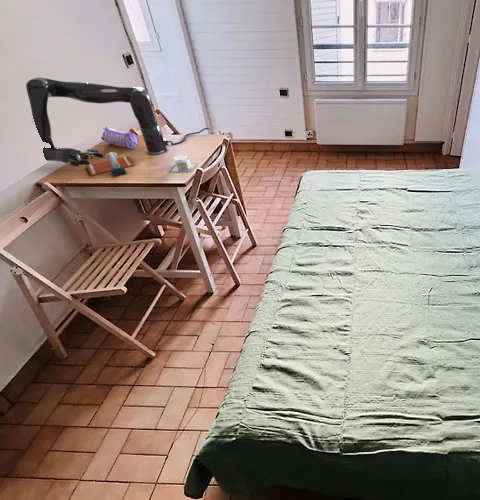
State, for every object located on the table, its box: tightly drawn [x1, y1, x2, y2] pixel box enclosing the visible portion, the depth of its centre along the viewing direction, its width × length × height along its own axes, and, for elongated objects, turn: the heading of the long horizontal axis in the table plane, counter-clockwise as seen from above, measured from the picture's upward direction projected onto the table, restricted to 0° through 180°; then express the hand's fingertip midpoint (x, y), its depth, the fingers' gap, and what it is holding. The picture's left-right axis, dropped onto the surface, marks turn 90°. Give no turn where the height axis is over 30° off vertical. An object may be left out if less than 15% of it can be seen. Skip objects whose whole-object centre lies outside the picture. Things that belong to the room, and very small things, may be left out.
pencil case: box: [100, 126, 140, 150], centre depth 219 cm, size 22×9×10 cm, turn 63°
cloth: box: [86, 155, 135, 177], centre depth 199 cm, size 20×14×1 cm
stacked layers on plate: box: [170, 154, 196, 173], centre depth 195 cm, size 10×9×6 cm
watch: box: [104, 151, 127, 178], centre depth 188 cm, size 6×8×11 cm
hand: (95, 159), depth 187 cm, fingers open, 8 cm apart
